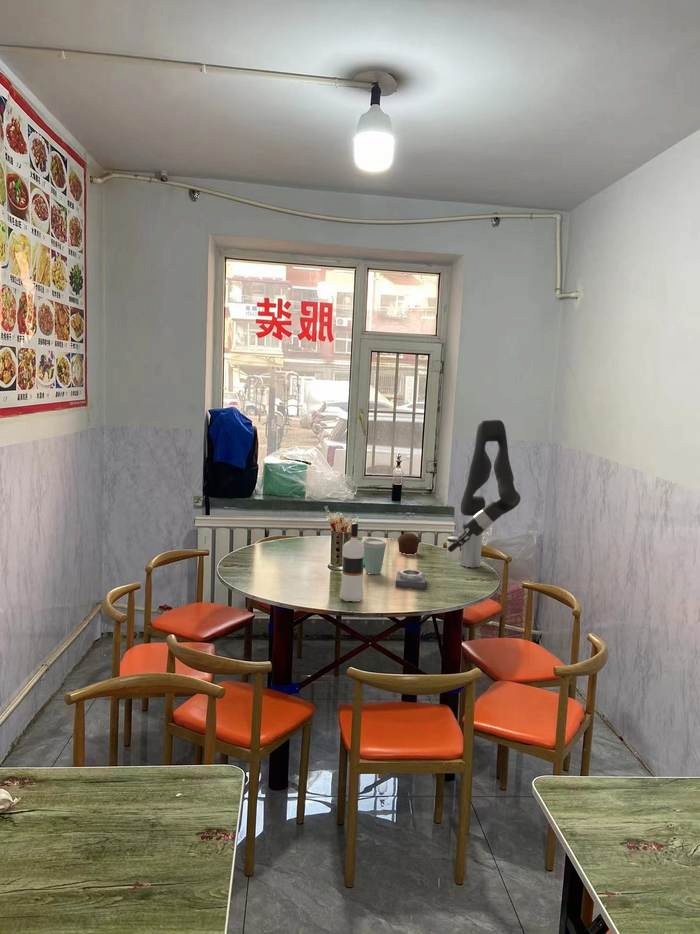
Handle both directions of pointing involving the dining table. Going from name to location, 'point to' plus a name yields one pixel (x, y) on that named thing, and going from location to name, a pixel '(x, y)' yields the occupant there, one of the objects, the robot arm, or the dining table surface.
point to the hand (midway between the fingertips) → (449, 548)
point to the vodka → (352, 567)
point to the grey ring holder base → (410, 579)
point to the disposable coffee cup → (374, 555)
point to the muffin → (408, 543)
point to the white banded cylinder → (455, 553)
